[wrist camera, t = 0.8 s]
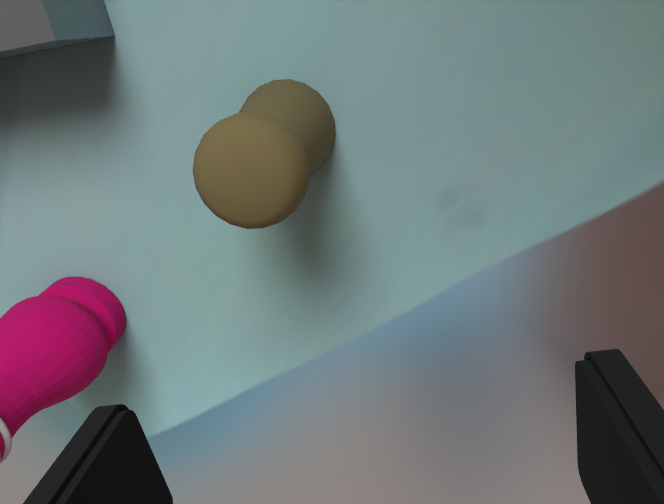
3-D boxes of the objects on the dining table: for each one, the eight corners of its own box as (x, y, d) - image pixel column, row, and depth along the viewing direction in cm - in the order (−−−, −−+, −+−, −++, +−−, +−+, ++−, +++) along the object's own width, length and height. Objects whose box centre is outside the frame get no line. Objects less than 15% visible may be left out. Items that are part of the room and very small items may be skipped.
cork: (345, 167, 32) (327, 235, 22) (254, 186, 33) (199, 258, 23) (322, 68, 30) (292, 95, 20) (226, 91, 31) (151, 127, 21)
